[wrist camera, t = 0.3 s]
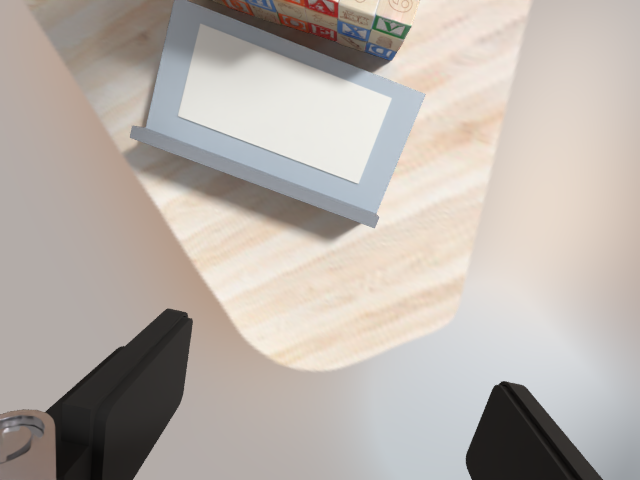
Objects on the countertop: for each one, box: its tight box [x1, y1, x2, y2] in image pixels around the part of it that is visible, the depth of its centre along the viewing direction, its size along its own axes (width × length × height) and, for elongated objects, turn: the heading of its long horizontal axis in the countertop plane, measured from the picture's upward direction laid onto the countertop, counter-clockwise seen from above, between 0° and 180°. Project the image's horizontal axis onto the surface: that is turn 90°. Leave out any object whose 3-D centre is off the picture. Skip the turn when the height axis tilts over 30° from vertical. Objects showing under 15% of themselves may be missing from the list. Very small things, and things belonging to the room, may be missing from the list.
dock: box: [130, 0, 426, 228], centre depth 34 cm, size 14×26×5 cm, turn 70°
